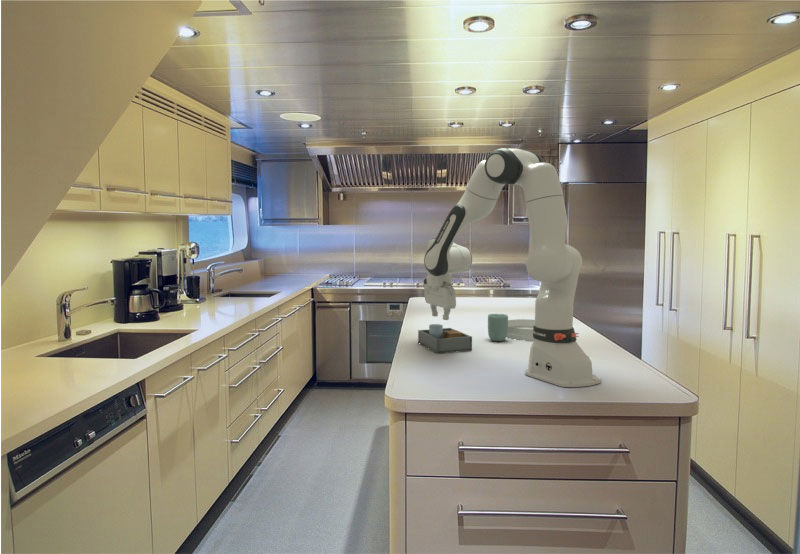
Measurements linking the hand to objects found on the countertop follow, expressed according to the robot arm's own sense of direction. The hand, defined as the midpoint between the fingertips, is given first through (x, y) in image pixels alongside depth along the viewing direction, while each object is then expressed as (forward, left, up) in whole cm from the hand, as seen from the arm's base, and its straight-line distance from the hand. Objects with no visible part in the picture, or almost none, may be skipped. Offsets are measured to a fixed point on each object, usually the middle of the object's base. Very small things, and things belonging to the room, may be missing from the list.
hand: (440, 318), depth 195 cm
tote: (-1, -1, -11) cm, 11 cm away
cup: (+1, -25, -11) cm, 27 cm away
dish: (+5, -42, -11) cm, 44 cm away
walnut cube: (-4, -3, -10) cm, 11 cm away
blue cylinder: (0, +2, -10) cm, 10 cm away
